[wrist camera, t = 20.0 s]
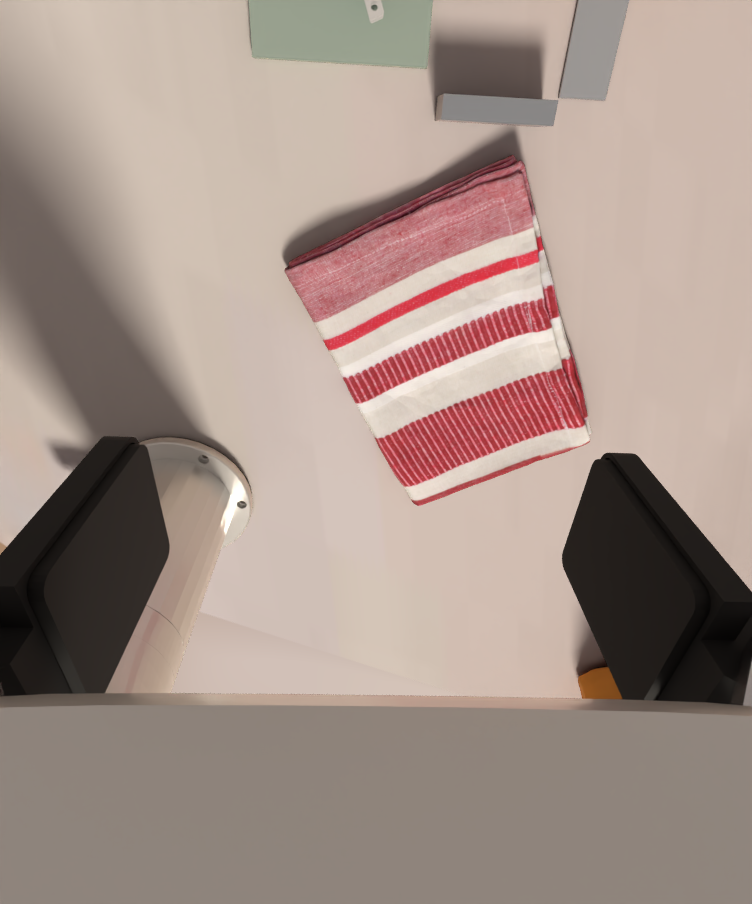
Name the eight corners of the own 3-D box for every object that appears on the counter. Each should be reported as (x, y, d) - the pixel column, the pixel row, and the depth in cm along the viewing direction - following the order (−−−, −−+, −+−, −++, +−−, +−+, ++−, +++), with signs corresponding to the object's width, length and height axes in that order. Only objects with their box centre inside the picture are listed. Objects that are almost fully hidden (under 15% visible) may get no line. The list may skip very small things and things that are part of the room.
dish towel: (513, 145, 32) (524, 146, 30) (589, 433, 44) (601, 449, 41) (283, 261, 36) (278, 270, 33) (409, 498, 47) (412, 517, 45)
